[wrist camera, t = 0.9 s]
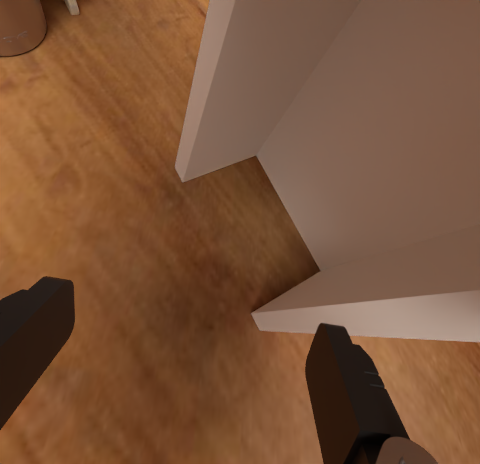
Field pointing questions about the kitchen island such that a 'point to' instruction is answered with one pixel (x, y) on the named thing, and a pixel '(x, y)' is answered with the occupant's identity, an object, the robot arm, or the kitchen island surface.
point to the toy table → (72, 7)
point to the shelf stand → (354, 152)
